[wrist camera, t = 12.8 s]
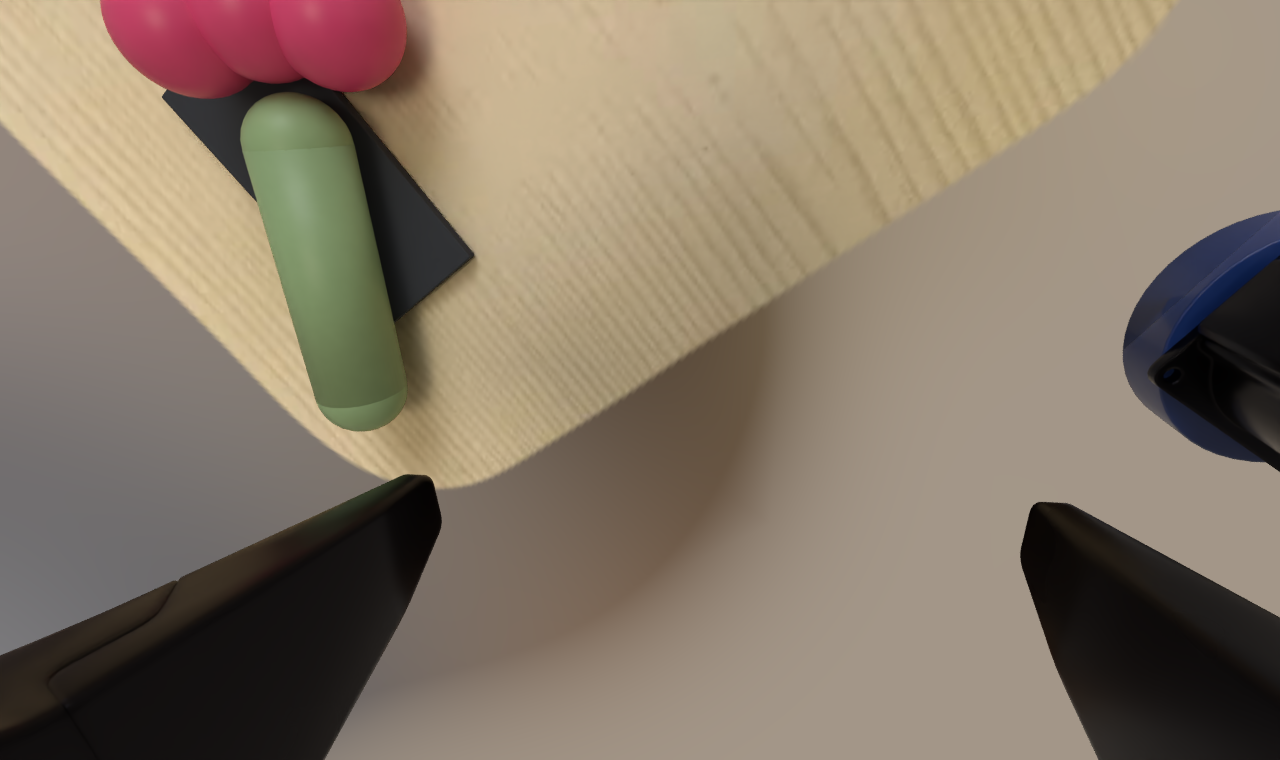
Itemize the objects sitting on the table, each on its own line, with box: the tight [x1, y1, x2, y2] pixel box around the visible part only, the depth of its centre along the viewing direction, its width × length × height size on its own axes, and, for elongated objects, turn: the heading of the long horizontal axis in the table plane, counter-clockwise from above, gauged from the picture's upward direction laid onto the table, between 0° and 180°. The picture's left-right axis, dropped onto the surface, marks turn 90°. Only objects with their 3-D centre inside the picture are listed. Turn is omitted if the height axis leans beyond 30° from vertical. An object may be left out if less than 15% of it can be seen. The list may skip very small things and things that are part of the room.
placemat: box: [162, 77, 474, 323], centre depth 20 cm, size 10×5×1 cm, turn 37°
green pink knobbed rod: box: [100, 0, 408, 431], centre depth 19 cm, size 15×8×4 cm, turn 3°
